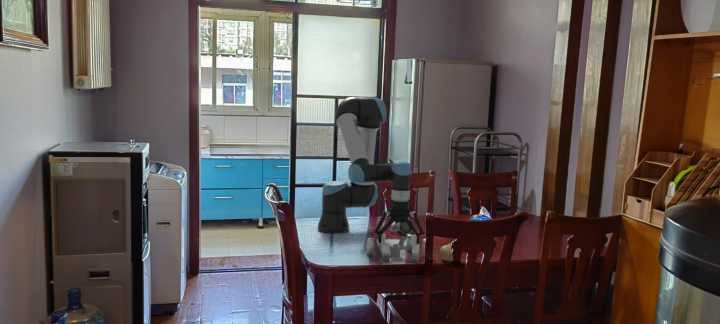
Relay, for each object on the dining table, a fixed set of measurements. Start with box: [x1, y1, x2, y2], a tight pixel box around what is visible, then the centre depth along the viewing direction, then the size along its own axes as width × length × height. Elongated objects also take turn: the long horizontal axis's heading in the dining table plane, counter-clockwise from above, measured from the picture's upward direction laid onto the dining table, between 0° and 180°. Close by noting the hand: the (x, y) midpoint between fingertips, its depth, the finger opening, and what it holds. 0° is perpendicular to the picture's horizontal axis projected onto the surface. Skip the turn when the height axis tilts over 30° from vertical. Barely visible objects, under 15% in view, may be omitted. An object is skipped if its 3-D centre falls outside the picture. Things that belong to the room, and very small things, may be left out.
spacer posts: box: [365, 233, 427, 264], centre depth 221 cm, size 26×18×7 cm
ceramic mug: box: [390, 217, 415, 235], centre depth 260 cm, size 11×8×8 cm
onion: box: [438, 242, 452, 263], centre depth 217 cm, size 8×8×7 cm
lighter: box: [389, 235, 407, 259], centre depth 221 cm, size 7×2×8 cm, turn 126°
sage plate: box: [375, 238, 406, 250], centre depth 237 cm, size 14×10×1 cm
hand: (398, 250), depth 221 cm, fingers open, 13 cm apart
